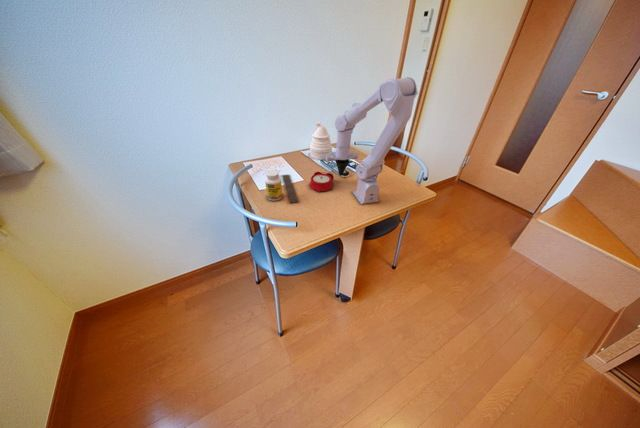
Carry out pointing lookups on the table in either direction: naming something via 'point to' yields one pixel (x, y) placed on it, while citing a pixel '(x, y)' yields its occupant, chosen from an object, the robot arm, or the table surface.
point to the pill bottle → (273, 186)
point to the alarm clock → (321, 181)
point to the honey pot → (320, 143)
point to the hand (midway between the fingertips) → (340, 174)
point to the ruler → (289, 189)
